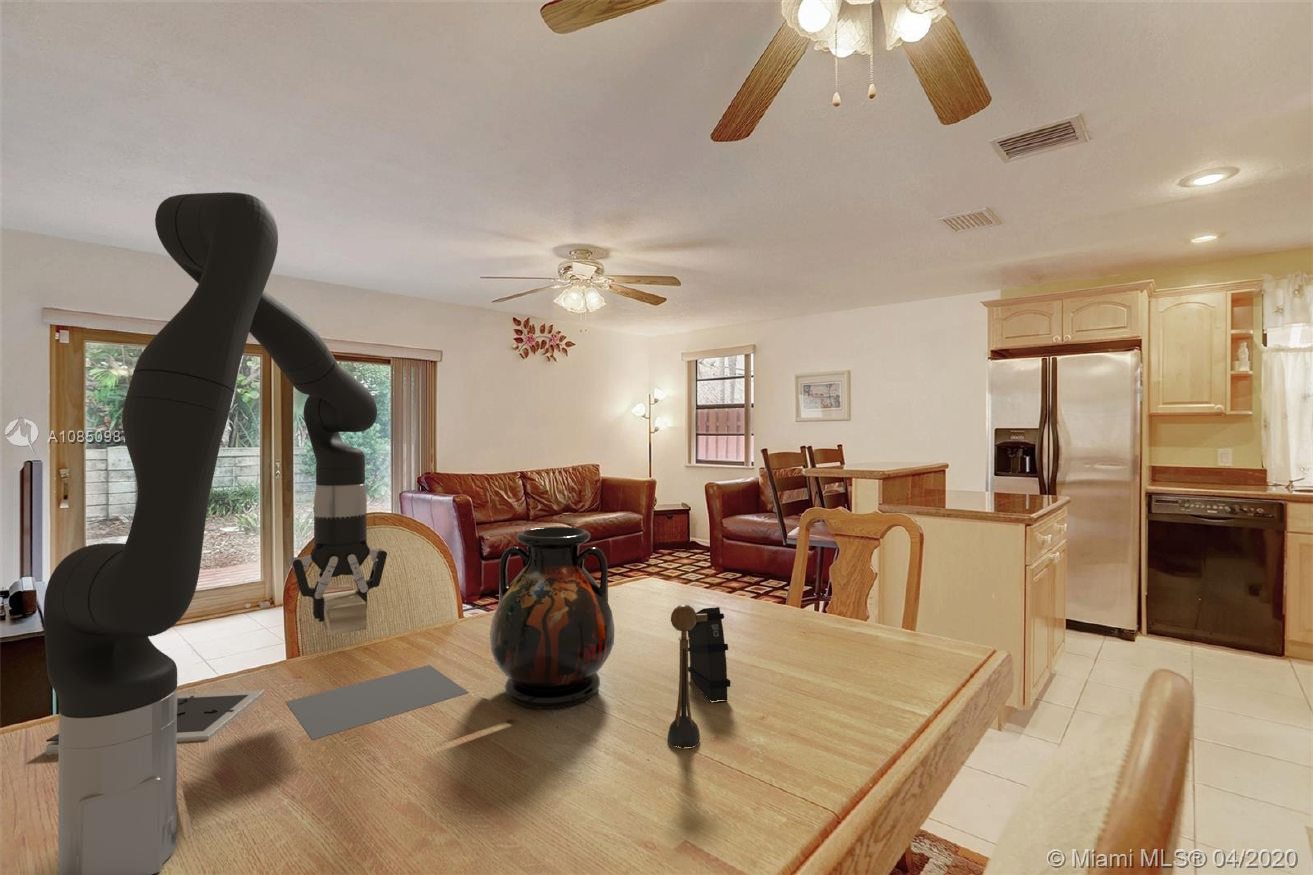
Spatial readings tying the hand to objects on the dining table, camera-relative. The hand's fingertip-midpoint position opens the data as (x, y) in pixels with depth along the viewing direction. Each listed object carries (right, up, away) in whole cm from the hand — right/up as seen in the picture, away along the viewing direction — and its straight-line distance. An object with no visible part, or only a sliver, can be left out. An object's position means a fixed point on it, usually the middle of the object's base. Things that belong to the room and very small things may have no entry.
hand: (340, 617), depth 97 cm
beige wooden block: (0, -1, 0) cm, 1 cm away
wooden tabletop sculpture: (+56, -16, -9) cm, 58 cm away
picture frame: (-25, -16, -4) cm, 30 cm away
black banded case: (+60, -16, +10) cm, 63 cm away
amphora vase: (+33, -16, +9) cm, 37 cm away
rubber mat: (+4, -15, +4) cm, 17 cm away
